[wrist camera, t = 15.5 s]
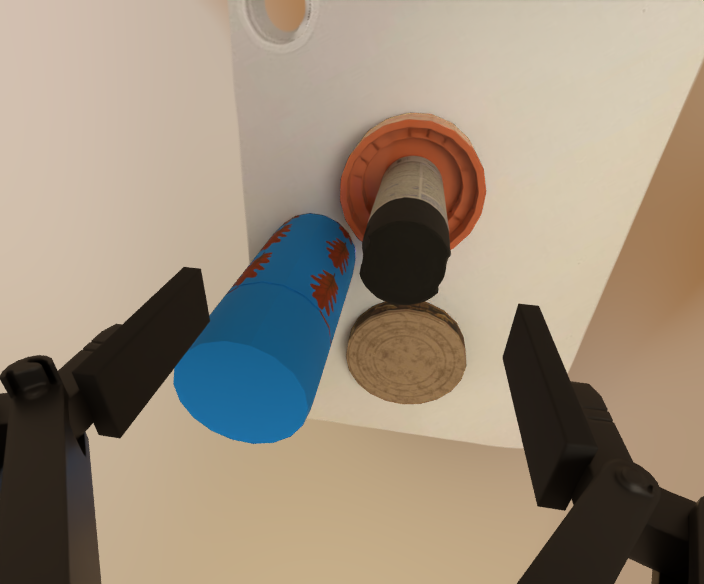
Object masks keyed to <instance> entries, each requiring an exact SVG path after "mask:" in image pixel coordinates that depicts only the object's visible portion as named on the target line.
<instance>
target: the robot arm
mask: <svg viewBox="0 0 704 584" xmlns="http://www.w3.org/2000/svg"><path fill="white" fill-rule="evenodd" d="M209 322H210V317H209V312H208V306H207V301H206V295H205V290H204V284H203V278H202V273H201V269H198V268H189V267H183V268H182V269H181V270H180V271H179V272H178V273H177V274H176V275H175V276H174V277H173V278H172V279H171V280H169V281H168V282H167V283H166V284H165V285H164V286H163V287H162V288H161V289H160V290H159V291H158V292H157V293H156V294H154V296H152V297H151V298H150V299H149V300H148V301H147V302H146V303H145V304H144V305H143V306H142V307H141V308H140V309H138V310H137V311H136V312H135V313H134V314H133V315H132V316H131V317H130V318H129V319H128V320H127V321H126V322H125V323H124V324H123V325H121V324H115V325H113V326H111V327H109V328H107V329H105V330H104V331H102V332H101V333H100V334H98V335H97V336H96V337H95V338H94V339H93V340H92V342H91V343H89V344H87V345H86V346H85V347H84V348H83V350H81V351H80V352H78V354H76V355H75V356H74V357H73V358H72V359H71V360H70V361H68V362H67V363H66V364H65V365H64V366H63V367H62V368H61V369H59V370H58V371H57V369H56V367H55V364H54V362H53V360H52V358H50V357H48V356H41V355H37V356H32V357H27V358H24V359H21V360H18V361H16V362H15V363H13V364H11V365H9V366H8V367H7V368H6V369H5V370H4V371H3V372H2V373H1V375H0V380H1V382H2V384H3V385H4V387H5V389H6V391H7V393H2V394H0V584H101V575H100V564H99V553H98V542H97V530H96V519H95V508H94V497H93V486H92V475H91V463H90V452H89V441H88V437H87V435H86V432H85V431H86V430H87V429H88V428H89V427H90V426H91V425H92V424H93V423H94V425H95V427H96V430H97V432H98V434H99V435H103V436H109V437H115V438H121V437H122V435H123V434H124V433H125V431H126V430H127V429H128V428H129V426H130V425H131V424H132V422H133V421H134V420H135V418H136V417H137V416H138V415H139V413H140V412H141V411H142V409H143V408H144V407H145V405H146V404H147V403H148V401H149V400H150V399H151V398H152V396H153V395H154V394H155V392H156V391H157V390H158V388H159V387H160V386H161V384H162V383H163V382H164V381H165V379H166V378H167V377H168V376H169V374H170V373H171V372H172V370H173V369H174V368H175V366H176V365H177V364H178V363H179V361H180V360H181V359H182V357H183V356H184V355H185V353H186V352H187V351H188V350H189V348H190V347H191V346H192V344H193V343H194V342H195V340H196V339H197V338H198V337H199V335H200V334H201V333H202V331H203V330H204V329H205V327H206V326H207V325H208V324H209ZM503 362H504V366H505V370H506V375H507V379H508V383H509V387H510V392H511V396H512V400H513V404H514V409H515V413H516V417H517V421H518V426H519V430H520V434H521V438H522V442H523V447H524V451H525V455H526V459H527V463H528V468H529V472H530V476H531V480H532V485H533V489H534V493H535V498H536V502H537V506H539V507H546V508H552V509H558V510H564V511H565V510H566V508H567V506H568V504H569V502H570V501H571V499H572V501H573V504H574V506H573V507H572V509H571V510H570V511H569V513H568V514H567V516H566V517H565V518H564V520H563V521H562V522H561V524H560V525H559V527H558V528H557V529H556V531H555V532H554V534H553V535H552V536H551V538H550V539H549V540H548V542H547V543H546V544H545V546H544V547H543V548H542V550H541V551H540V553H539V554H538V556H537V557H536V558H535V560H534V561H533V562H532V564H531V565H530V567H529V568H528V569H527V571H526V572H525V573H524V575H523V576H522V577H521V579H520V580H519V581H518V583H517V584H614V583H615V581H616V579H617V577H618V576H619V574H620V572H621V570H622V568H623V566H624V565H625V563H626V560H627V559H628V558H629V559H632V560H634V561H636V562H638V563H640V564H642V565H644V566H647V567H649V568H651V569H653V570H652V584H704V496H703V497H701V498H700V499H699V500H698V502H694V501H692V500H689V499H686V498H684V497H682V496H678V495H676V494H674V493H671V492H669V491H667V490H665V489H662V488H661V487H659V485H658V483H657V481H656V480H655V479H654V477H653V476H652V475H651V474H650V473H649V472H648V471H646V470H645V469H644V468H643V467H641V466H639V465H637V464H635V463H634V462H633V461H632V459H631V456H630V455H629V452H628V450H627V448H626V446H625V444H624V442H623V440H622V438H621V436H620V434H619V432H618V430H617V428H616V426H615V424H614V423H613V422H612V421H613V420H612V418H611V415H610V413H609V412H607V407H606V405H605V403H604V401H603V399H602V397H601V396H600V395H599V394H598V392H597V391H596V390H595V389H593V388H592V387H591V385H590V384H587V383H579V382H571V381H570V380H569V377H568V375H567V372H566V370H565V367H564V365H563V363H562V360H561V358H560V355H559V353H558V351H557V348H556V346H555V343H554V341H553V339H552V336H551V334H550V331H549V329H548V327H547V324H546V322H545V319H544V317H543V315H542V312H541V310H540V308H539V306H535V305H526V304H518V307H517V310H516V314H515V317H514V321H513V324H512V327H511V331H510V334H509V337H508V341H507V344H506V348H505V351H504V354H503Z"/></svg>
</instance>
